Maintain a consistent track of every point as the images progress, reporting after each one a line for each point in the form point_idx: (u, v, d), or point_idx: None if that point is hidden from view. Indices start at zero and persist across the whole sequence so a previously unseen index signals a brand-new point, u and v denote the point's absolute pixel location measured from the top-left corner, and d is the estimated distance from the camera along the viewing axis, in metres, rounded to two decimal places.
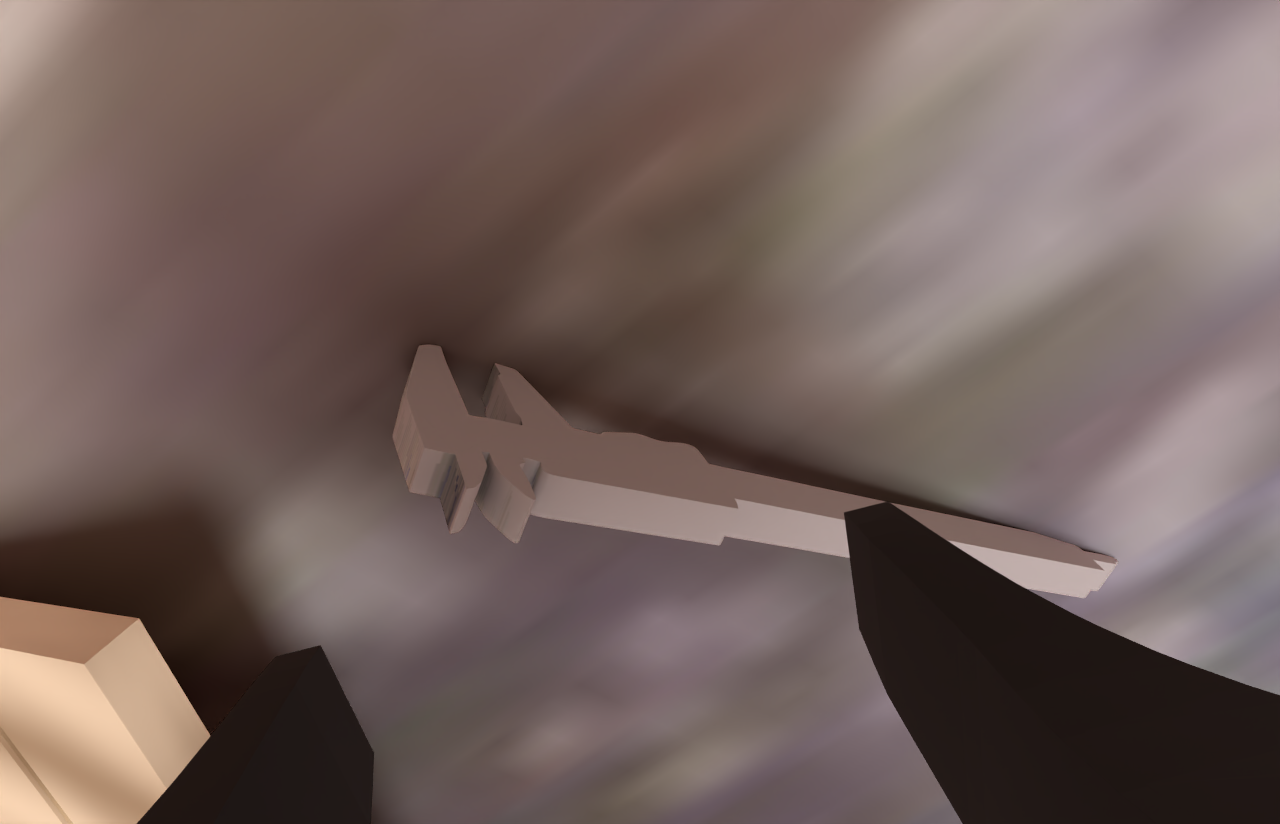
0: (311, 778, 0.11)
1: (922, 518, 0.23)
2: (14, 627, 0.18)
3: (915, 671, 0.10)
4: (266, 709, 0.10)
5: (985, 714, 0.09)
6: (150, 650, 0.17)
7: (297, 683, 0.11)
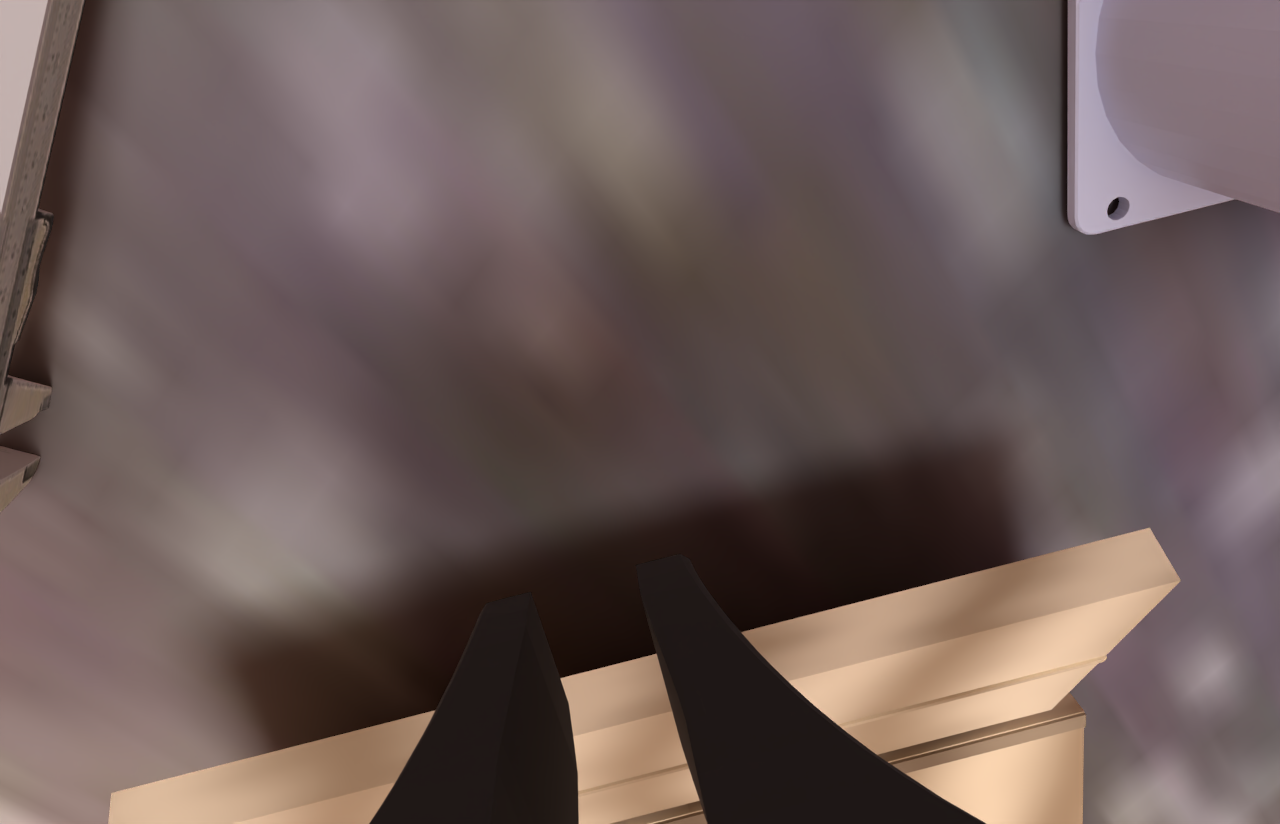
0: (543, 718, 0.11)
1: None
2: None
3: (681, 731, 0.10)
4: (505, 648, 0.10)
5: None
6: (143, 791, 0.18)
7: (526, 624, 0.11)
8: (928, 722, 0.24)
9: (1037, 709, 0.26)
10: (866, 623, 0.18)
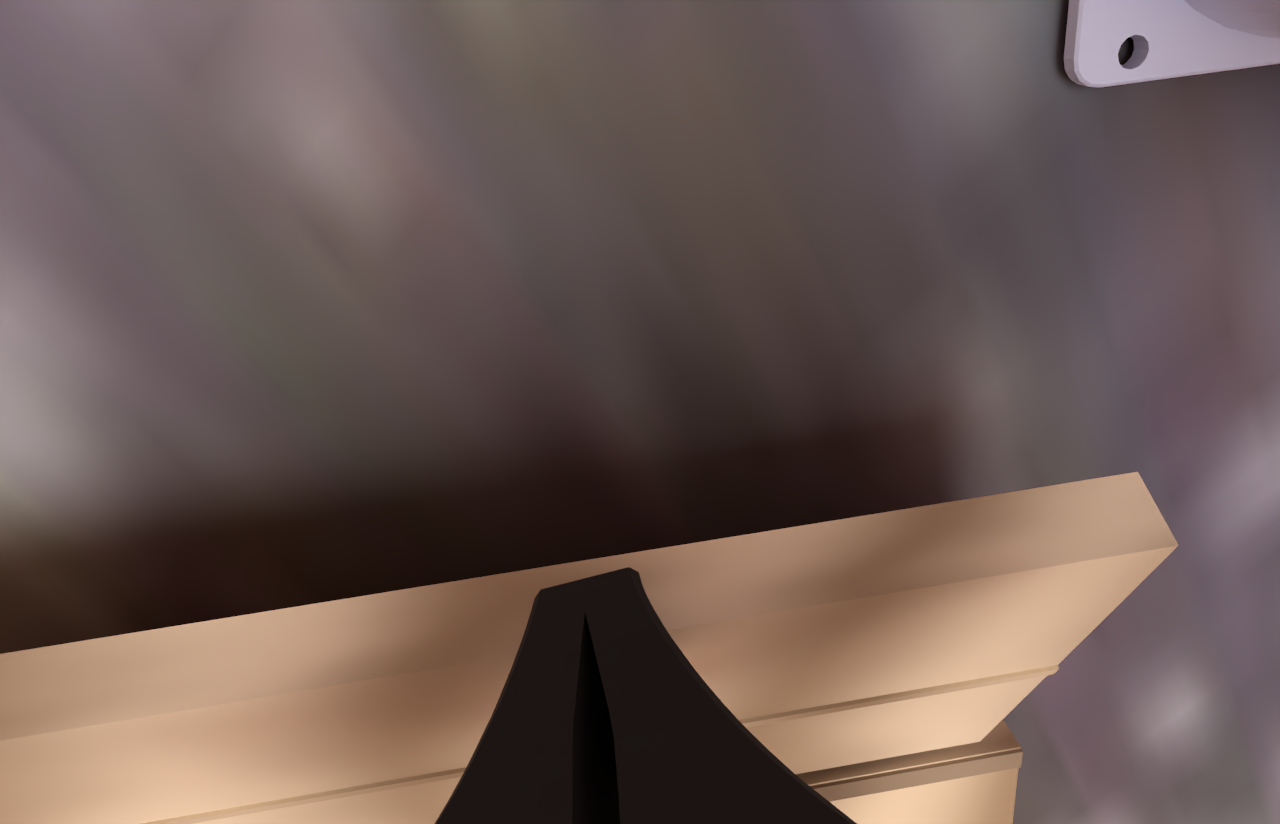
0: (603, 703, 0.11)
1: None
2: None
3: None
4: (567, 632, 0.10)
5: None
6: None
7: (585, 610, 0.11)
8: (819, 741, 0.18)
9: (962, 739, 0.20)
10: (722, 569, 0.12)
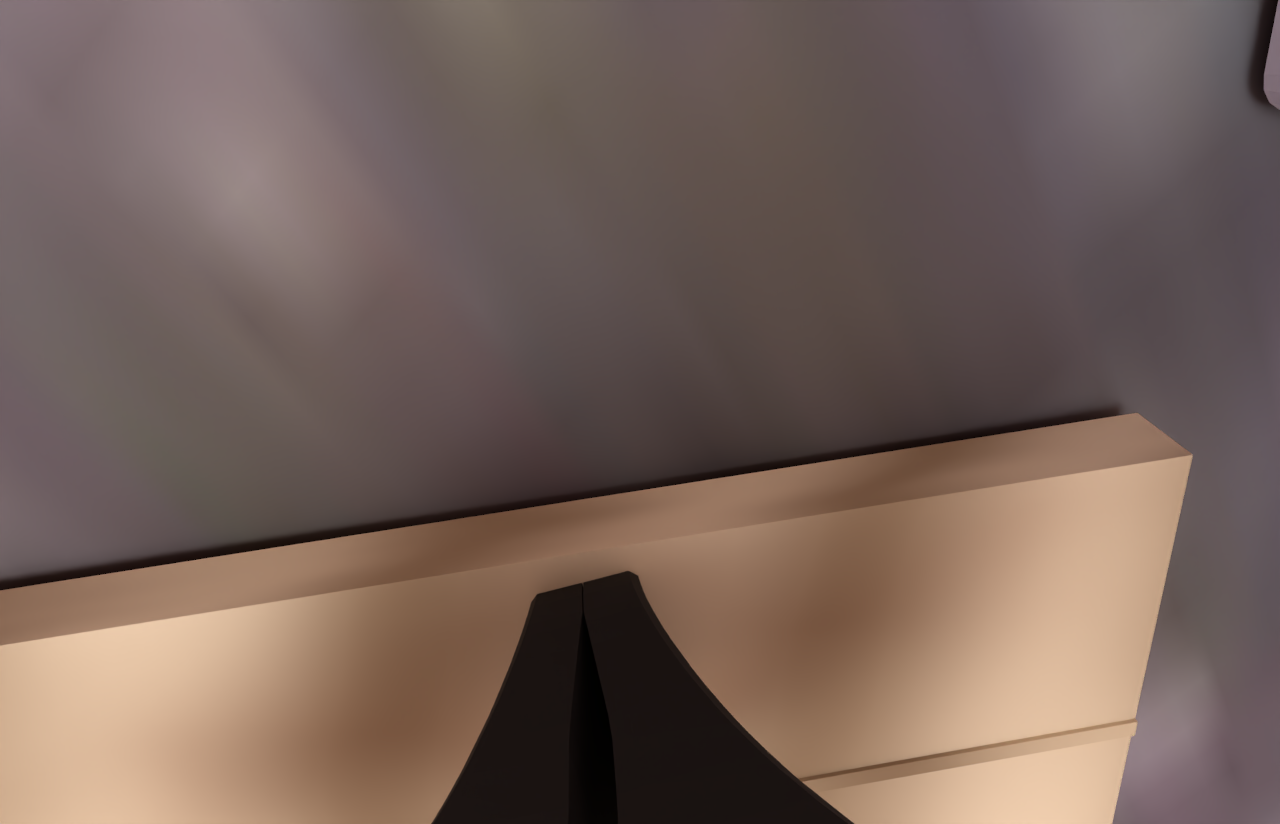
0: (600, 704, 0.11)
1: None
2: None
3: None
4: (564, 633, 0.10)
5: None
6: None
7: (582, 610, 0.11)
8: None
9: None
10: (715, 498, 0.12)
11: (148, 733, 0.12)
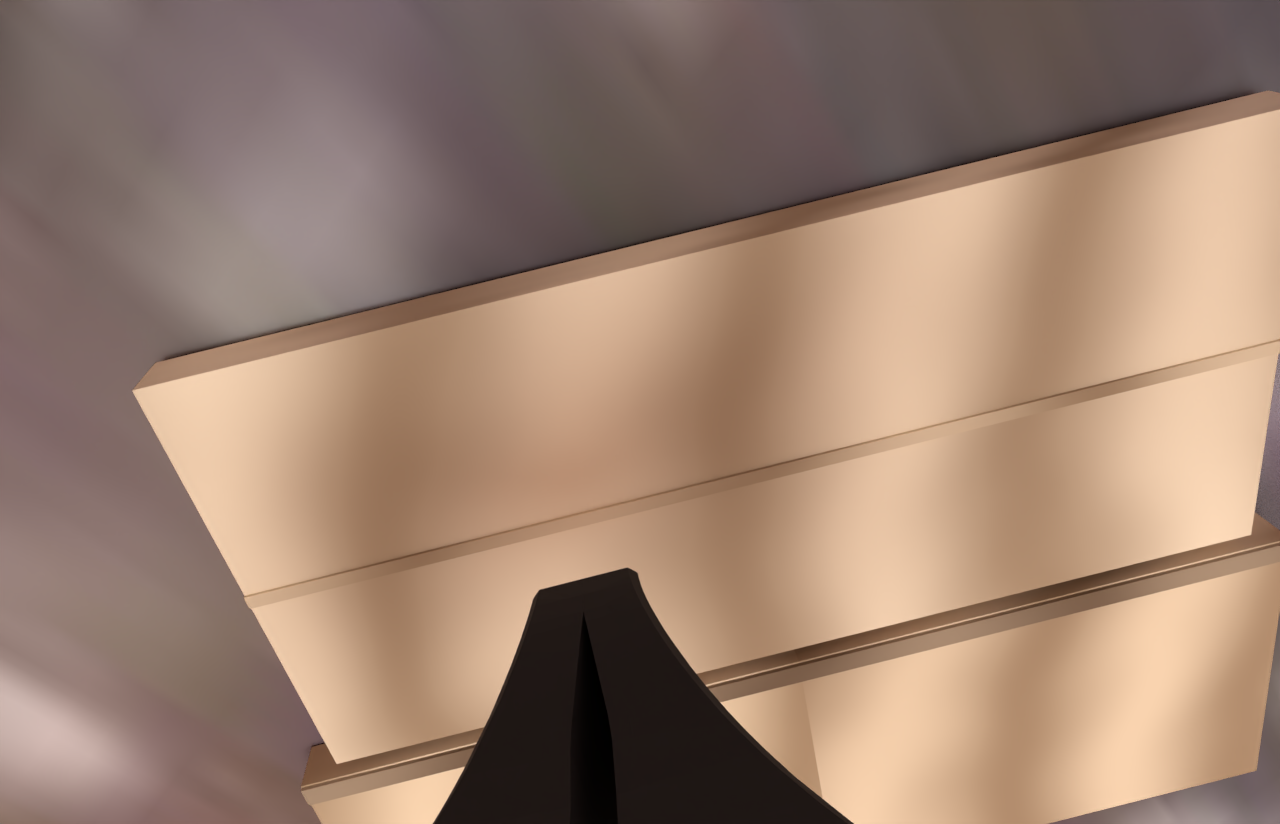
0: (601, 703, 0.11)
1: None
2: None
3: None
4: (565, 632, 0.10)
5: None
6: (187, 356, 0.17)
7: (583, 610, 0.11)
8: (1085, 486, 0.20)
9: (1230, 522, 0.21)
10: (966, 172, 0.17)
11: (586, 371, 0.17)
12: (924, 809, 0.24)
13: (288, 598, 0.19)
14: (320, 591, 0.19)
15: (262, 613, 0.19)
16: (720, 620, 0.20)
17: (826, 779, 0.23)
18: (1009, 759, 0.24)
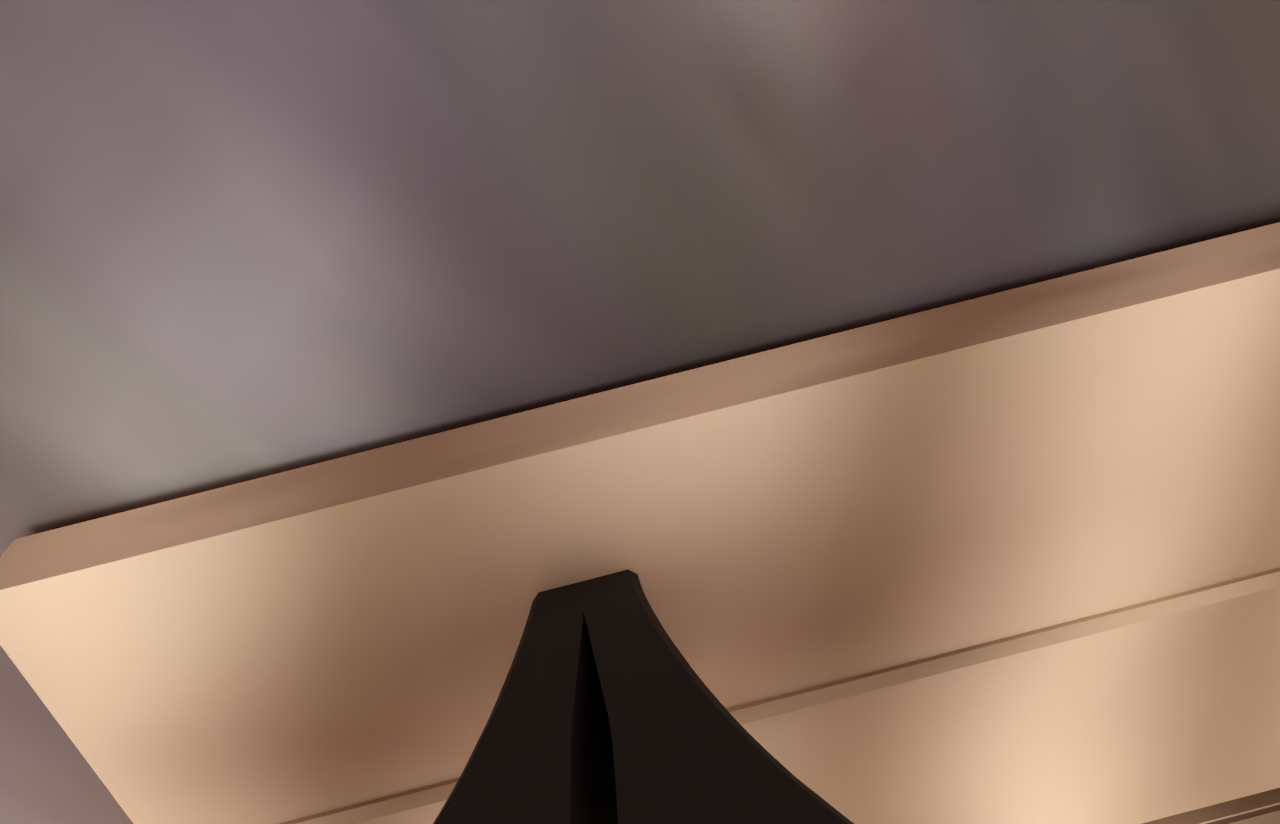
0: (601, 703, 0.11)
1: None
2: None
3: None
4: (565, 633, 0.10)
5: None
6: (61, 531, 0.12)
7: (583, 610, 0.11)
8: None
9: None
10: (1213, 255, 0.11)
11: (650, 551, 0.12)
12: None
13: None
14: None
15: None
16: None
17: None
18: None
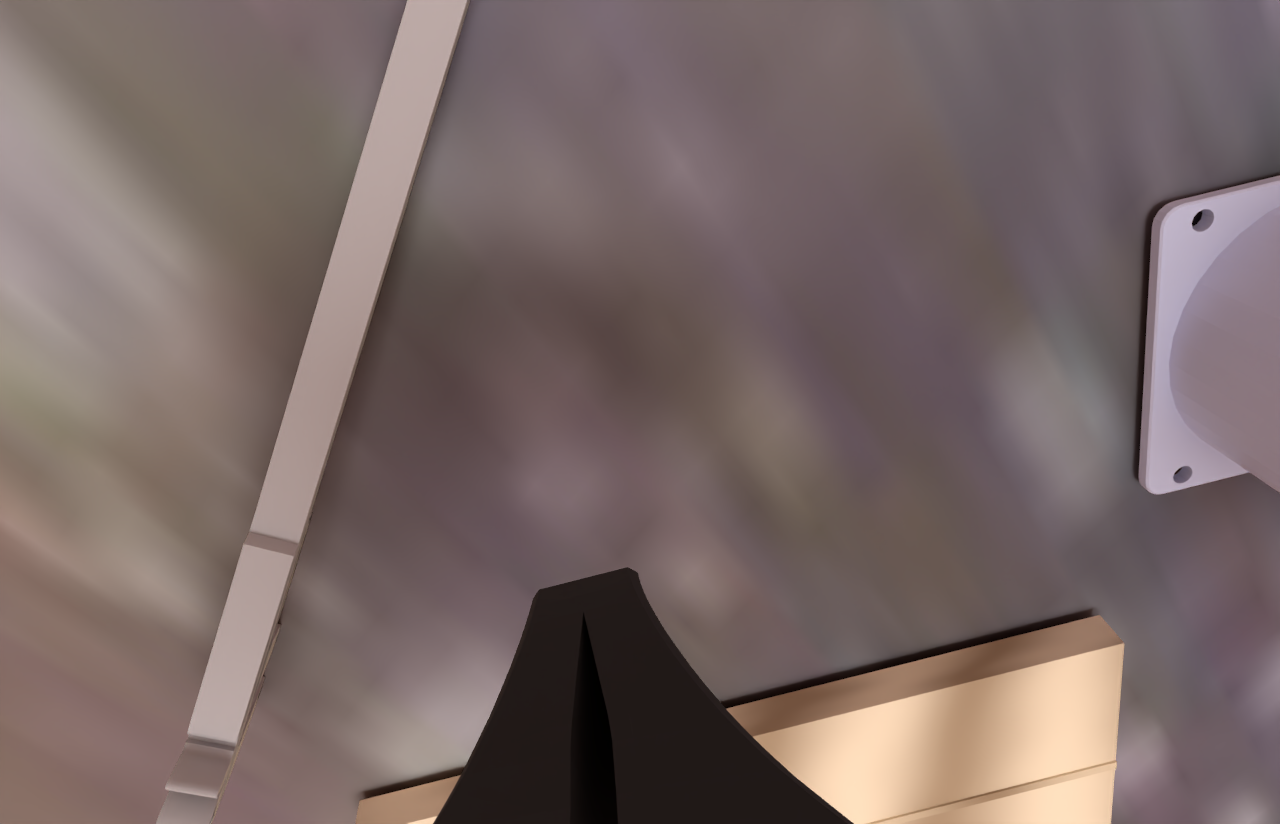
0: (601, 703, 0.11)
1: None
2: None
3: None
4: (565, 632, 0.10)
5: None
6: (381, 798, 0.26)
7: (583, 610, 0.11)
8: None
9: None
10: (897, 678, 0.26)
11: None
12: None
13: None
14: None
15: None
16: None
17: None
18: None
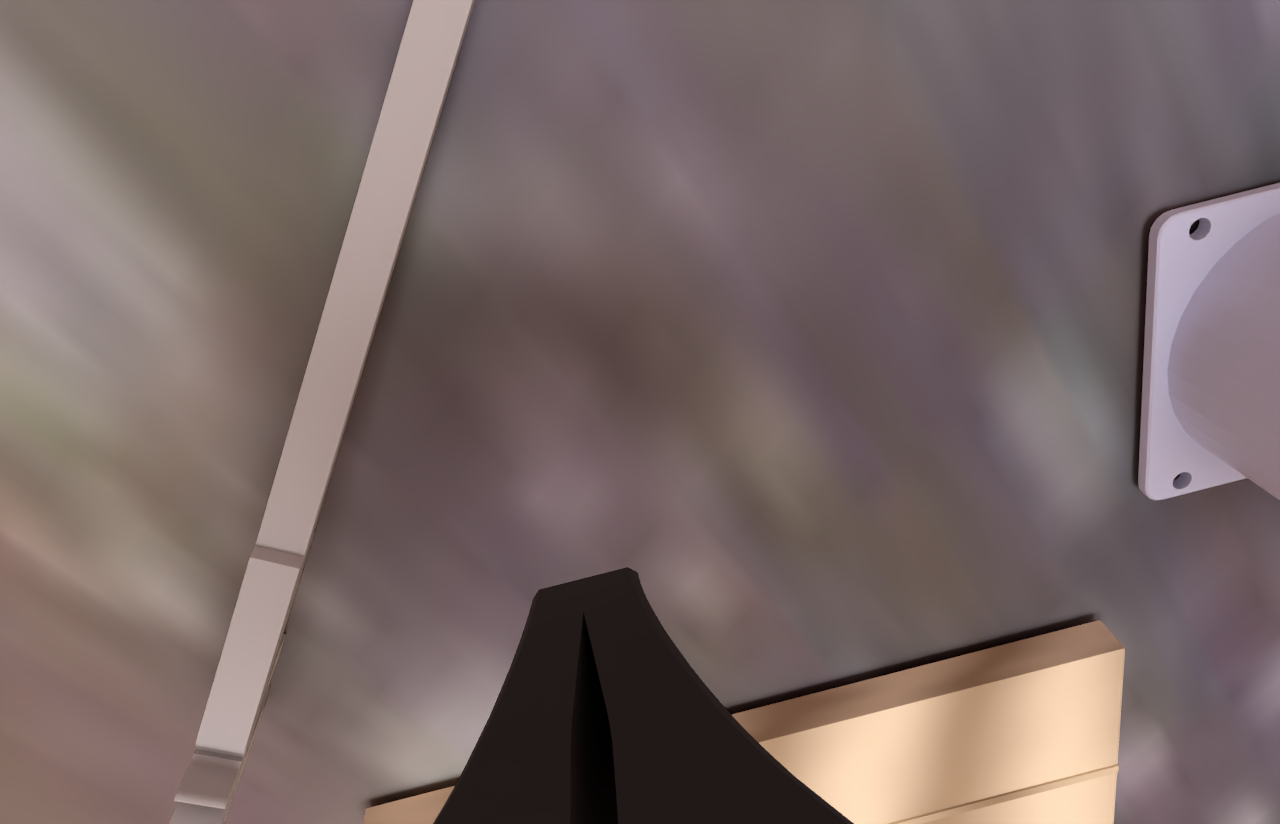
0: (601, 703, 0.11)
1: None
2: None
3: None
4: (565, 632, 0.10)
5: None
6: (387, 806, 0.26)
7: (583, 610, 0.11)
8: None
9: None
10: (899, 684, 0.26)
11: None
12: None
13: None
14: None
15: None
16: None
17: None
18: None
